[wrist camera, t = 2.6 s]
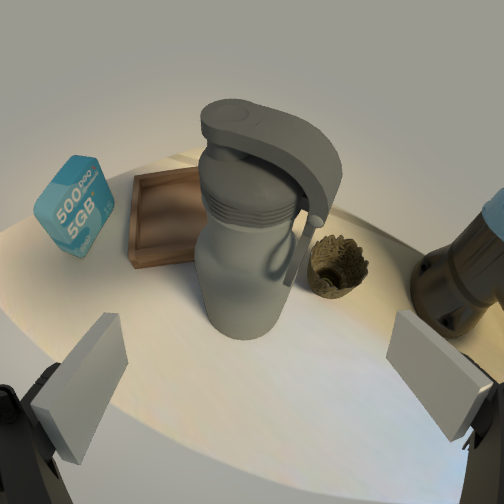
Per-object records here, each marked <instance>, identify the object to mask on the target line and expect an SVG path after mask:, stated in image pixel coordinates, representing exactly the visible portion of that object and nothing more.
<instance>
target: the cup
mask: <svg viewBox="0 0 504 504" xmlns="http://www.w3.org/2000/svg"><path fill="white" fill-rule="evenodd" d="M343 238H344V237H343V236H342V235H340V236H339V237H338V238H337V239H336V238H335V236H334V235H330V236H328V237H327V236H325V237H324V238H323V239H322V240H321V241H320V242H319V241H317V242H316V244H315V246H314V247H313V248H312V250H311V255H310V260H309V264H308V271H307V277H308V282H309V285H310V287H311V288H312V290H313V291H314V292H315V293H316V294H317V295H319V296H321V297H323V298H327V299H336V298H340V297H342V296H344V295H346V294H347V293H349V292H350V291H351V290H353V289H354V288H355V287H357V286H358V285H359V284H361V283H362V281H363V280H364V278H365V277H366V276H367V274H368V269H367V267H368V264H369V262H368V261H367V260H365V262H364V257H362V252H363V249H362V247H357V244H356V242H355V241H354V240H353V239H344V240H343Z"/></svg>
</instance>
